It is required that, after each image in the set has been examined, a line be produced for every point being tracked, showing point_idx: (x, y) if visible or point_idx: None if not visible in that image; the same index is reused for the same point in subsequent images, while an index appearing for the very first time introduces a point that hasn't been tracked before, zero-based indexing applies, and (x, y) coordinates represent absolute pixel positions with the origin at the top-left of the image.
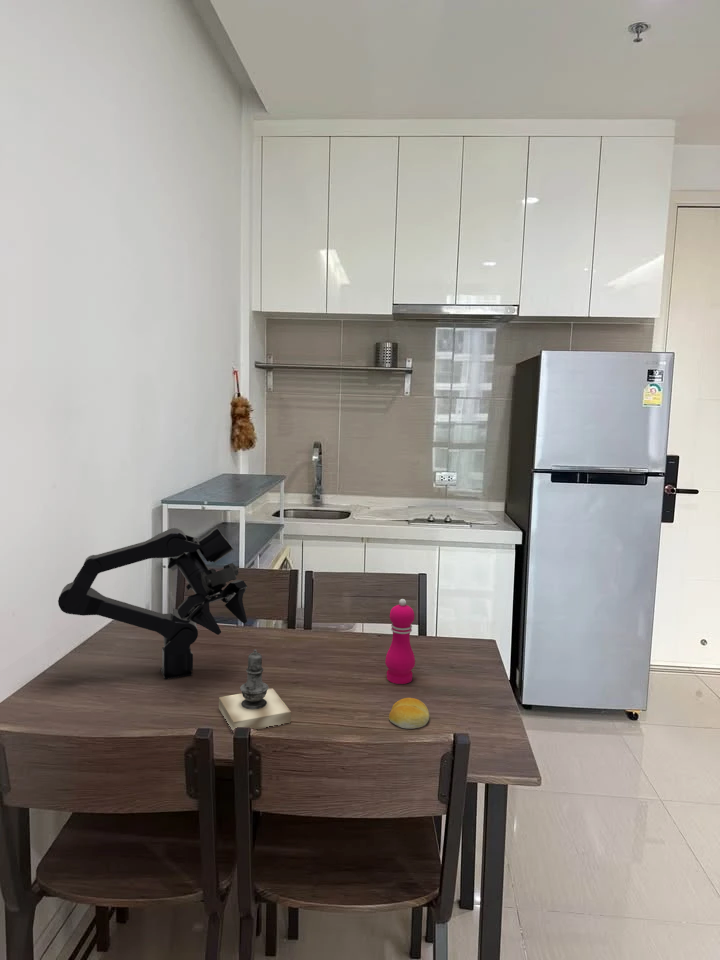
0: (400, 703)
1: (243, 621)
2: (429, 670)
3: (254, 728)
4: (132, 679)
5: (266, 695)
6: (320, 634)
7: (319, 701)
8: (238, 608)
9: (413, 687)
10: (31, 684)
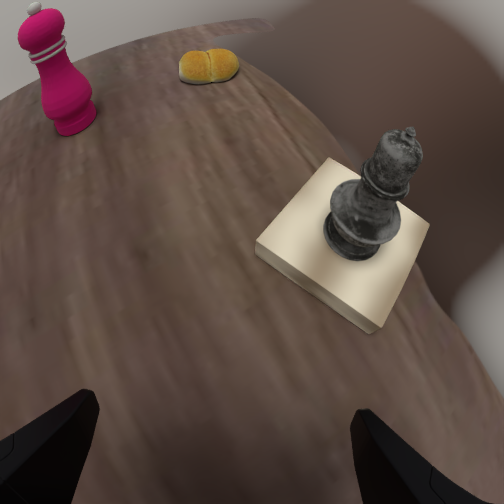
0: (205, 61)
1: (93, 412)
2: None
3: None
4: None
5: (300, 231)
6: None
7: (211, 169)
8: (41, 470)
9: (104, 98)
10: None
